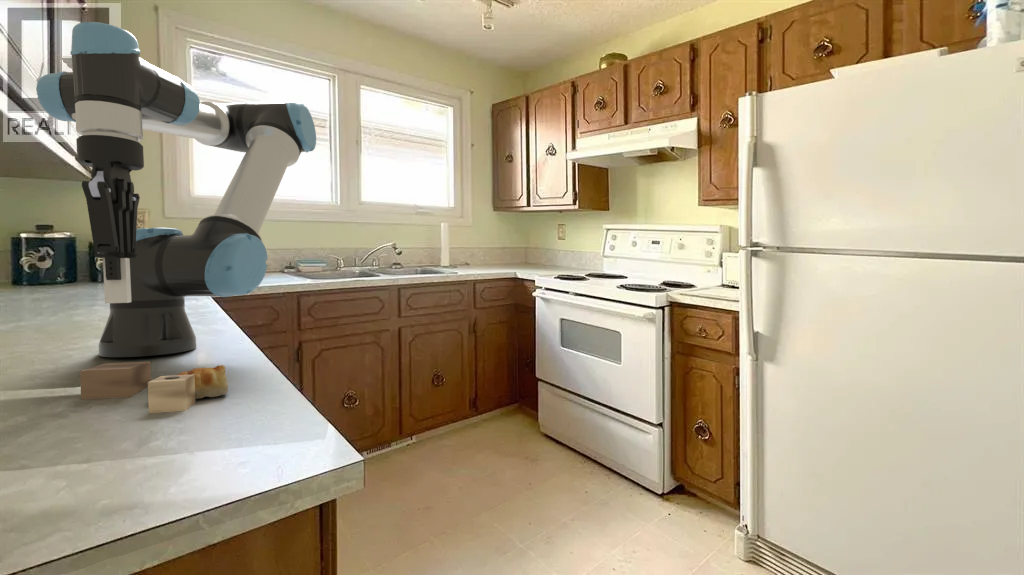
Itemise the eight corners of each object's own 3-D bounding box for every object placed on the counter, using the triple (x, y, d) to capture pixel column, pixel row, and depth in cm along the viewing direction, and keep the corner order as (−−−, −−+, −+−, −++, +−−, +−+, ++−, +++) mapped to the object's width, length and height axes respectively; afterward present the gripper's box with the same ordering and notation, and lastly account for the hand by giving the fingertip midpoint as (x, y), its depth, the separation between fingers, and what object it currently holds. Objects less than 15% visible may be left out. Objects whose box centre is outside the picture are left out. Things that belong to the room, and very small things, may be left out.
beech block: (161, 406, 67) (160, 375, 67) (195, 403, 68) (194, 373, 68) (148, 414, 63) (147, 381, 63) (185, 411, 64) (184, 379, 64)
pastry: (149, 406, 65) (147, 378, 65) (151, 395, 71) (149, 368, 71) (231, 394, 71) (230, 368, 70) (226, 385, 76) (225, 360, 76)
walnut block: (106, 393, 75) (105, 363, 75) (151, 391, 76) (150, 361, 76) (81, 403, 69) (80, 370, 69) (130, 400, 70) (129, 368, 70)
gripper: (99, 147, 77) (107, 300, 78) (53, 125, 65) (63, 307, 66) (157, 150, 79) (163, 299, 80) (123, 129, 67) (131, 305, 68)
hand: (118, 302), depth 73 cm, fingers closed
